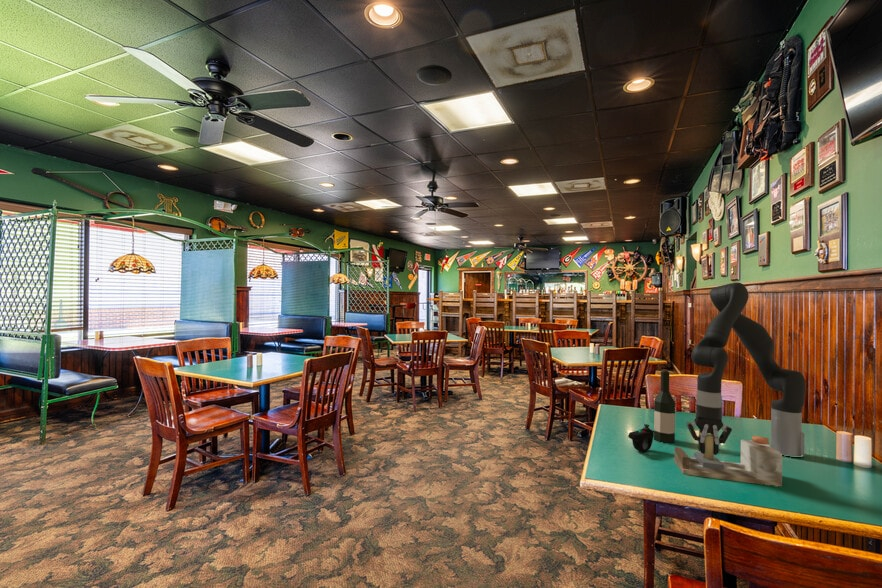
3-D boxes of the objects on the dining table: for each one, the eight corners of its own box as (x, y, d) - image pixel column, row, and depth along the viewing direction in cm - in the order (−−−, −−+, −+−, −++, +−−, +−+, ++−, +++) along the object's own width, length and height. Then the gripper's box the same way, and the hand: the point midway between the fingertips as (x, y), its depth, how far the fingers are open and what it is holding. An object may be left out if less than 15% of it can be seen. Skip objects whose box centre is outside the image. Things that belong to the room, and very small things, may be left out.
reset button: (765, 440, 137) (765, 436, 137) (771, 445, 133) (771, 441, 133) (750, 439, 138) (750, 435, 138) (755, 443, 134) (755, 439, 134)
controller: (655, 450, 158) (656, 425, 158) (636, 456, 152) (636, 429, 152) (645, 447, 162) (645, 422, 162) (626, 452, 156) (626, 426, 156)
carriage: (712, 458, 144) (713, 431, 144) (723, 469, 134) (724, 440, 134) (693, 456, 146) (694, 429, 146) (703, 467, 136) (703, 438, 136)
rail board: (763, 472, 140) (764, 441, 140) (782, 487, 129) (782, 454, 129) (673, 460, 148) (674, 432, 148) (683, 474, 137) (683, 443, 137)
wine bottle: (669, 437, 174) (670, 368, 175) (679, 444, 166) (680, 371, 167) (649, 436, 175) (650, 367, 176) (658, 443, 167) (659, 371, 167)
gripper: (728, 403, 142) (727, 452, 142) (683, 399, 146) (682, 447, 146) (736, 408, 135) (736, 460, 134) (689, 404, 139) (688, 454, 138)
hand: (708, 453), depth 140 cm, fingers closed on carriage, 3 cm apart
